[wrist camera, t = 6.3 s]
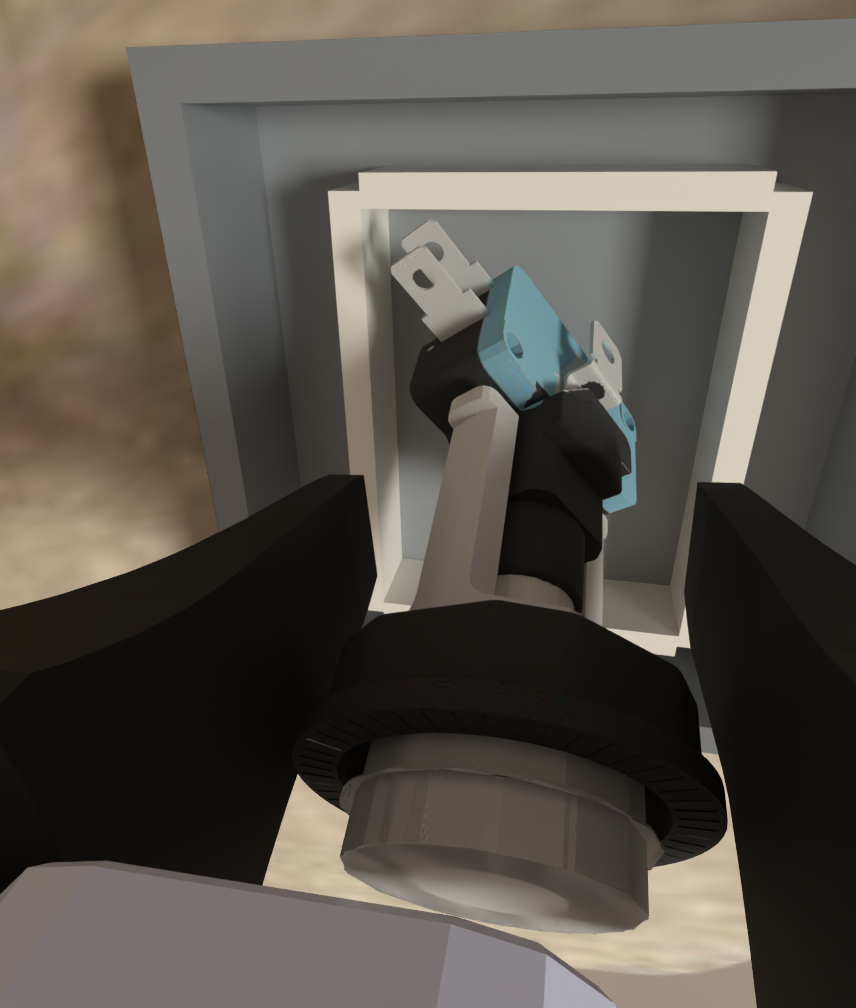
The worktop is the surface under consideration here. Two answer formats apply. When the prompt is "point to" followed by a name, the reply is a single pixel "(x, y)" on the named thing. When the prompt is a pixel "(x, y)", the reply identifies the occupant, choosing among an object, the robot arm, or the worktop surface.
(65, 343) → the worktop surface
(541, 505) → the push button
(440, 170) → the cream rectangular frame
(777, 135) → the grey square tray
